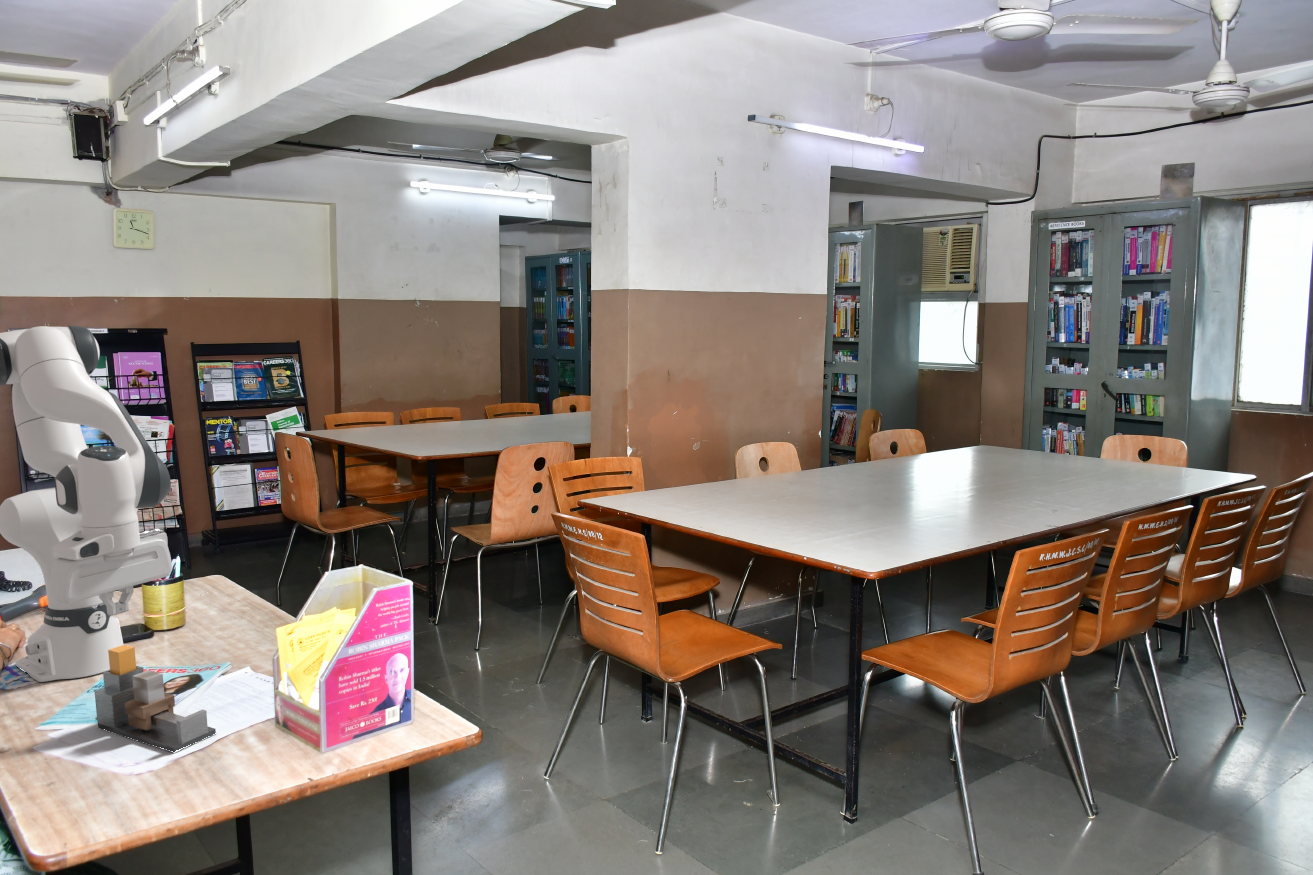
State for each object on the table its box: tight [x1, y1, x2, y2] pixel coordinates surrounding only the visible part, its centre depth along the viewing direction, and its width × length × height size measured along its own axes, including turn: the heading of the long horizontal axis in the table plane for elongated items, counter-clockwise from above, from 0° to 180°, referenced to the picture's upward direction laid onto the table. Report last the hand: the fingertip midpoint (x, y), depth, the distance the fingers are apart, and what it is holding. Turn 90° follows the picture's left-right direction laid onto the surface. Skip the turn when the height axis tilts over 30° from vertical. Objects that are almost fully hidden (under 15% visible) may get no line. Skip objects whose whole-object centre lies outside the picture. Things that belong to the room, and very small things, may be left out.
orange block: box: [108, 644, 137, 675], centre depth 168 cm, size 3×3×5 cm
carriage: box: [125, 669, 176, 730], centre depth 166 cm, size 5×6×9 cm
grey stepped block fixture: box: [94, 665, 217, 752], centre depth 165 cm, size 21×8×10 cm, turn 62°
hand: (118, 613), depth 167 cm, fingers closed
